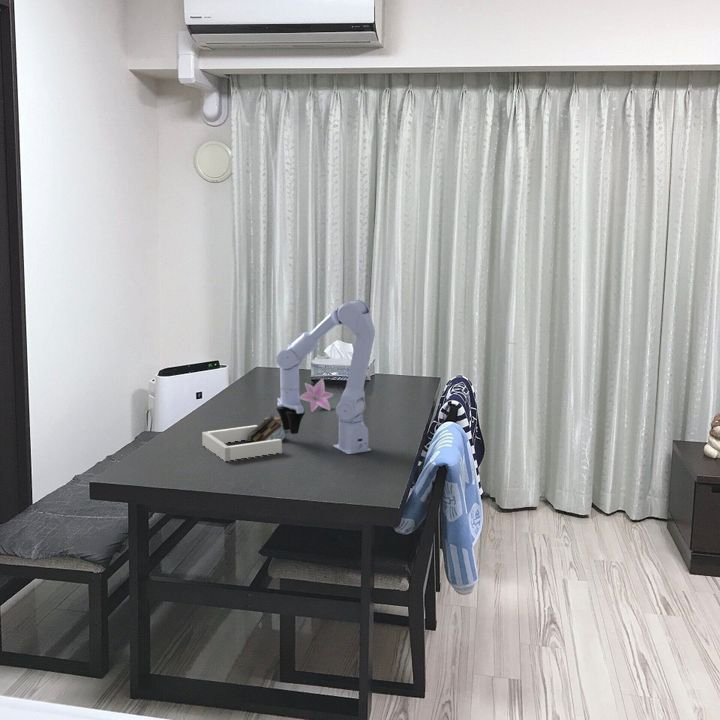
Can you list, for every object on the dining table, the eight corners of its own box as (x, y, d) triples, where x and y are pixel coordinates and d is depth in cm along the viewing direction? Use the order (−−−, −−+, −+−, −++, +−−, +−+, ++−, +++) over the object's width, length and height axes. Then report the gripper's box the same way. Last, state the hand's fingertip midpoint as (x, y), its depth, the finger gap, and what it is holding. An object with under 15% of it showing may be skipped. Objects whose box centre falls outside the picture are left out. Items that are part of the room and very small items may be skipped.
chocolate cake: (261, 448, 253) (285, 417, 257) (244, 438, 257) (269, 407, 260) (272, 462, 261) (296, 431, 264) (256, 452, 264) (279, 422, 268)
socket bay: (281, 453, 247) (281, 439, 246) (225, 461, 239) (225, 448, 238) (256, 437, 263) (256, 425, 263) (202, 445, 255) (202, 432, 254)
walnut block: (281, 430, 272) (281, 418, 272) (272, 432, 269) (272, 420, 268) (272, 428, 275) (272, 416, 274) (263, 430, 272) (263, 418, 271)
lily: (293, 413, 298) (300, 393, 292) (299, 394, 307) (306, 373, 302) (325, 423, 298) (333, 403, 293) (330, 404, 308) (338, 384, 303)
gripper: (268, 385, 260) (269, 427, 262) (288, 394, 247) (289, 438, 250) (288, 382, 263) (289, 424, 266) (309, 391, 251) (310, 435, 253)
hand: (290, 431), depth 258 cm, fingers open, 4 cm apart
